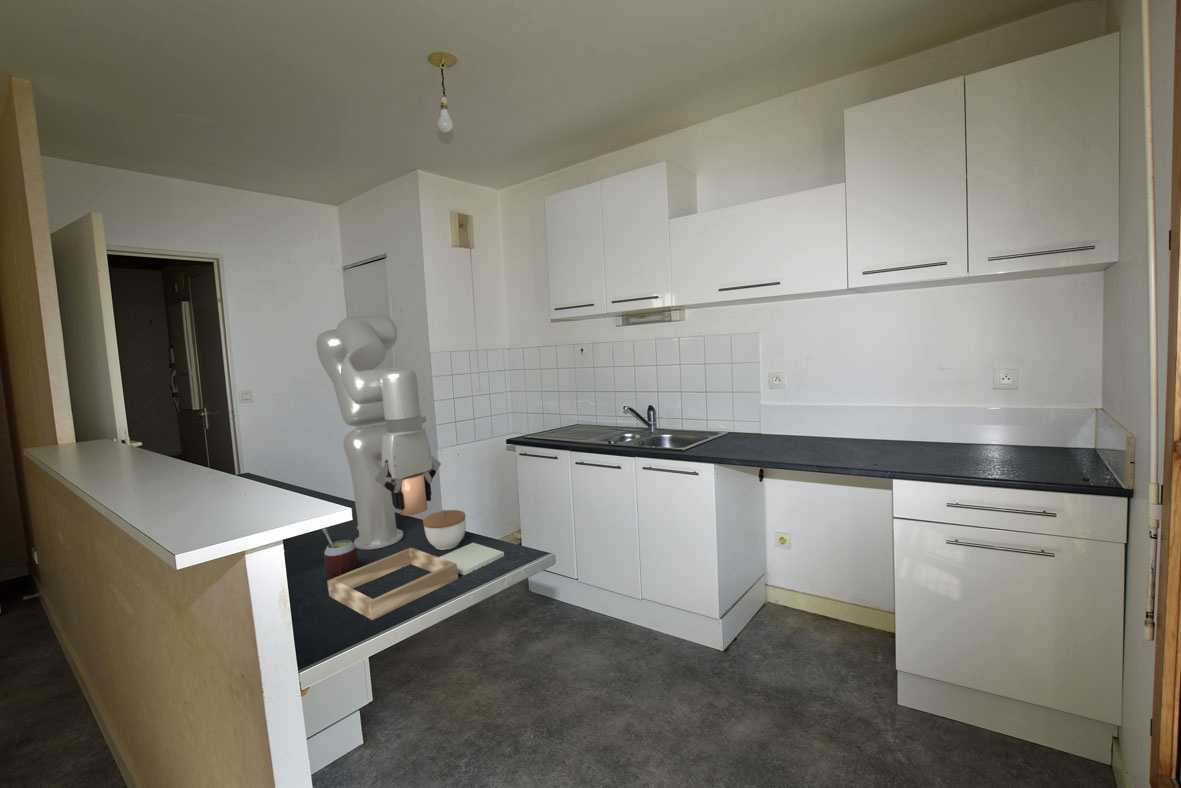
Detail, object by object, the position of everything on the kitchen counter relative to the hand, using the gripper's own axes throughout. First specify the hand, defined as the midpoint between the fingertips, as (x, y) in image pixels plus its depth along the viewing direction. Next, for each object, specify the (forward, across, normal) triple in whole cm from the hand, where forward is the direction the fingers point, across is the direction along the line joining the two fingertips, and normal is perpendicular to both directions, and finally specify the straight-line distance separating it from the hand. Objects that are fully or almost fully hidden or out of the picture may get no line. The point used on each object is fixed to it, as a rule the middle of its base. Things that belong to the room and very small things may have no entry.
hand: (412, 503), depth 120 cm
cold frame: (+17, +6, -1) cm, 18 cm away
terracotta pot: (+2, 0, 0) cm, 2 cm away
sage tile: (+17, -12, +2) cm, 21 cm away
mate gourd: (+18, +11, -16) cm, 26 cm away
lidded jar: (+18, -14, -11) cm, 25 cm away
